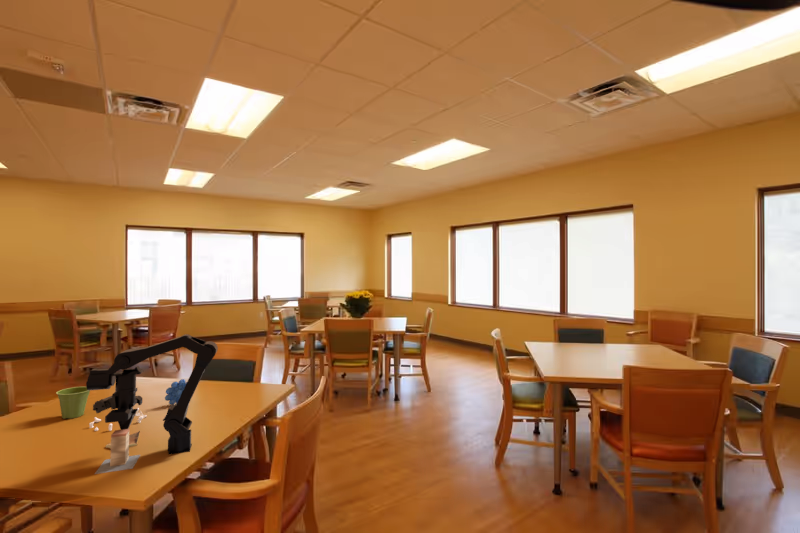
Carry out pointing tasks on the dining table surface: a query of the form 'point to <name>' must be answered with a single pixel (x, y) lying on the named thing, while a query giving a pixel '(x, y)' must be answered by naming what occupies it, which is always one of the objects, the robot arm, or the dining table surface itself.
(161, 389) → the dining table surface
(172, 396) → the grapes
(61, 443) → the dining table surface
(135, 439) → the shard
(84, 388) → the plant pot
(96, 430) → the game piece set
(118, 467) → the mat
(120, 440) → the block
